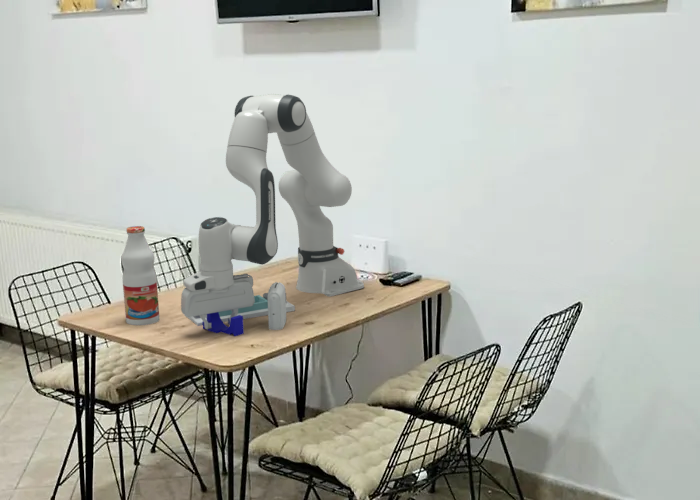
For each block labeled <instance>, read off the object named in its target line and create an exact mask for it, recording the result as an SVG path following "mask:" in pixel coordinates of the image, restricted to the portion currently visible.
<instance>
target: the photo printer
mask: <svg viewBox="0 0 700 500" xmlns="http://www.w3.org/2000/svg"><path fill="white" fill-rule="evenodd" d="M267 291H268V292H267V293H268V296H267V299H268V315H267V316H268V317H267V318H268V330H271V331H279V330H280V331H281V330H283V328H284V327H285V325H286V322H287V312H286V301H287V294H286V295H285V293H286V286H285V285H284V284H283V283H282V282H280V281H279V282H277V281H275V282H273V283H272V284H271V285H270V287H269V288H268V290H267Z"/></svg>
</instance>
